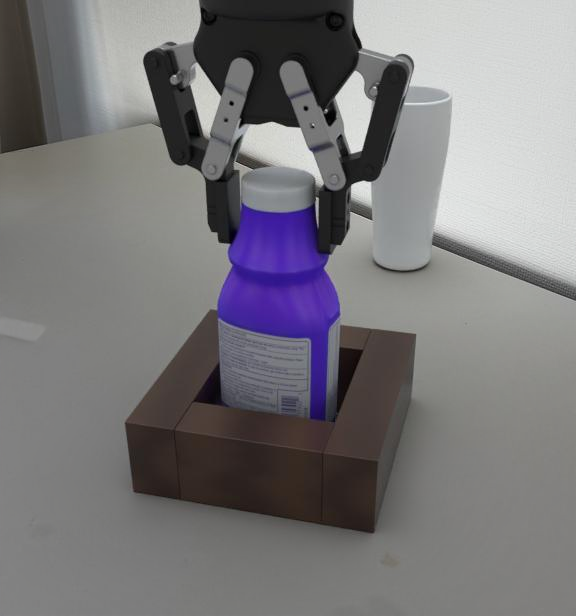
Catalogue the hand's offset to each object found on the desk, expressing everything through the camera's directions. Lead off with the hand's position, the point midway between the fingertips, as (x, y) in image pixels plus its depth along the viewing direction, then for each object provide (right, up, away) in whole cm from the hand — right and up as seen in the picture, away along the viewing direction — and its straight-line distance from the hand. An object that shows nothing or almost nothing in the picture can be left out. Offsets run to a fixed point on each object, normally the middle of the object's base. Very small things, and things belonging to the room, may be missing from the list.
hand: (279, 242), depth 49 cm
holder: (0, -12, +7) cm, 14 cm away
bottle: (0, -12, +7) cm, 14 cm away
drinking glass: (+11, +3, +31) cm, 33 cm away
